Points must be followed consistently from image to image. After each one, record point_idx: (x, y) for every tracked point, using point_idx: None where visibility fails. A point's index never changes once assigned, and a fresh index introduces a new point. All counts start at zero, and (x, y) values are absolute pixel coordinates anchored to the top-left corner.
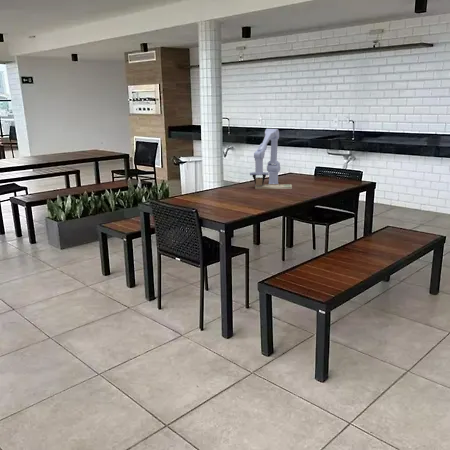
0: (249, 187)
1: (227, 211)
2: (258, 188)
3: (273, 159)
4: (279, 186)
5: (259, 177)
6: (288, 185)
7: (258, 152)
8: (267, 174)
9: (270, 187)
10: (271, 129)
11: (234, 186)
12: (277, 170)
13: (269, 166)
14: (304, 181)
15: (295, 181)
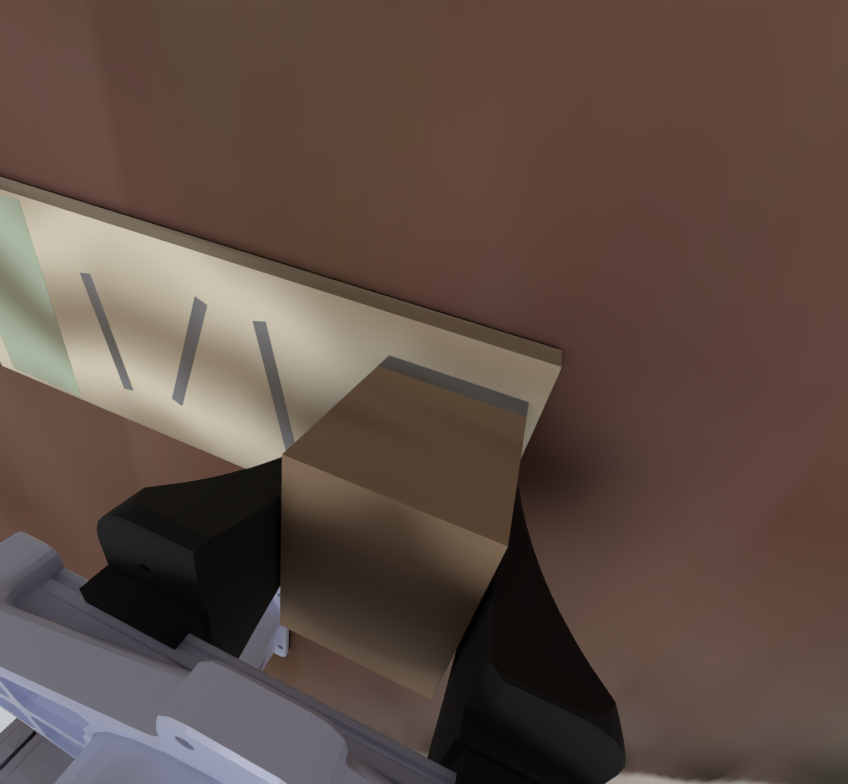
0: (599, 544)
1: None
2: (487, 331)
3: None
4: (99, 268)
5: (349, 658)
6: (8, 310)
7: None
8: (13, 568)
9: (244, 263)
10: None
11: (833, 720)
12: (4, 731)
13: None
14: (26, 531)
15: (85, 563)
